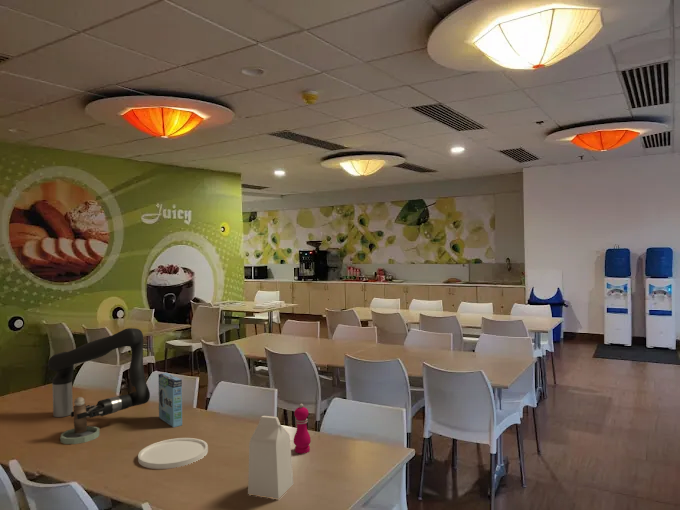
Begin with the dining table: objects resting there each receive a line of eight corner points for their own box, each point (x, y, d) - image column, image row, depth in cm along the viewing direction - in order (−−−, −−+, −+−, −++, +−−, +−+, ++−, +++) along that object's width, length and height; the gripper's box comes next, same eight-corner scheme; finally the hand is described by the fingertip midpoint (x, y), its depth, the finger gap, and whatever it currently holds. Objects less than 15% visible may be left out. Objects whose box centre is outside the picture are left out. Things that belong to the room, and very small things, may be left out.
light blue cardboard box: (158, 418, 263) (157, 374, 263) (168, 416, 266) (167, 372, 266) (173, 427, 248) (172, 380, 248) (183, 425, 251) (182, 379, 251)
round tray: (54, 439, 236) (54, 434, 236) (88, 429, 249) (88, 424, 249) (71, 446, 227) (71, 441, 227) (105, 435, 239) (105, 430, 239)
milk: (247, 495, 177) (245, 420, 177) (264, 480, 188) (262, 410, 188) (278, 500, 173) (276, 423, 173) (293, 485, 184) (291, 413, 183)
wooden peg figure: (72, 431, 237) (70, 397, 237) (83, 428, 241) (82, 394, 241) (77, 434, 234) (76, 399, 234) (89, 430, 238) (87, 396, 238)
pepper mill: (313, 448, 217) (312, 401, 217) (307, 455, 211) (305, 406, 210) (298, 446, 220) (296, 400, 220) (291, 453, 213) (289, 405, 213)
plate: (137, 450, 222) (136, 444, 222) (202, 439, 233) (202, 433, 233) (139, 475, 196) (139, 469, 196) (213, 461, 207) (212, 455, 207)
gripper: (101, 396, 253) (66, 405, 240) (117, 400, 245) (81, 410, 231) (102, 411, 253) (67, 421, 240) (117, 416, 245) (82, 426, 231)
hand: (74, 415), depth 236 cm, fingers closed on wooden peg figure, 5 cm apart
